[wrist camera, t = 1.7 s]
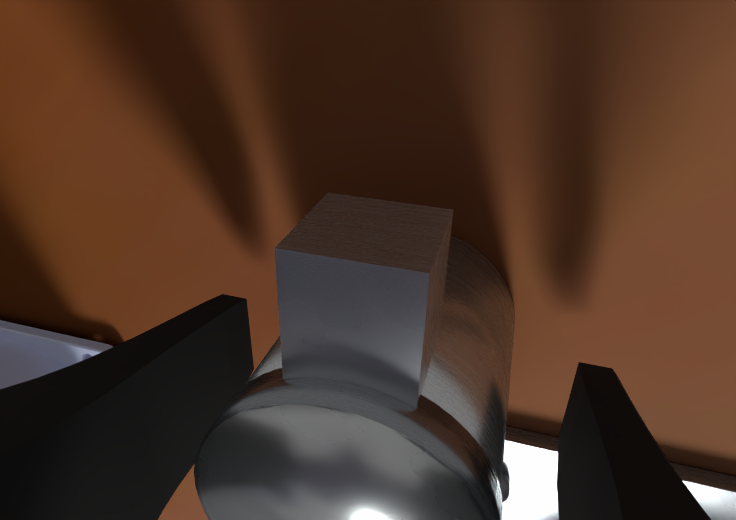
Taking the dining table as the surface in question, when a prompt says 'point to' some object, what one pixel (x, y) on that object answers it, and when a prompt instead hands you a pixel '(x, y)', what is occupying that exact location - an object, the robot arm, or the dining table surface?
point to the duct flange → (539, 480)
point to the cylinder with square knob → (371, 377)
